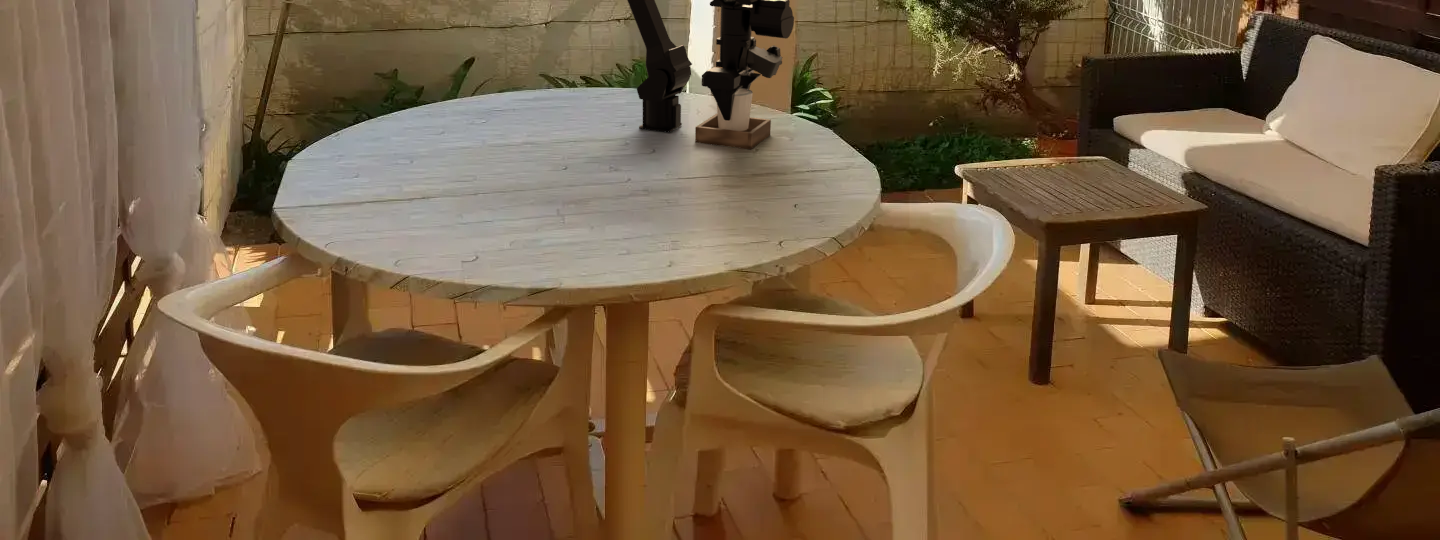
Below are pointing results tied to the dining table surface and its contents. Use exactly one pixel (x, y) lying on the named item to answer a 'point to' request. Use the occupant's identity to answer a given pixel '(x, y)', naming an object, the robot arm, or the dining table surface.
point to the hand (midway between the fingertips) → (733, 116)
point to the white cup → (738, 112)
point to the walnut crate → (733, 133)
